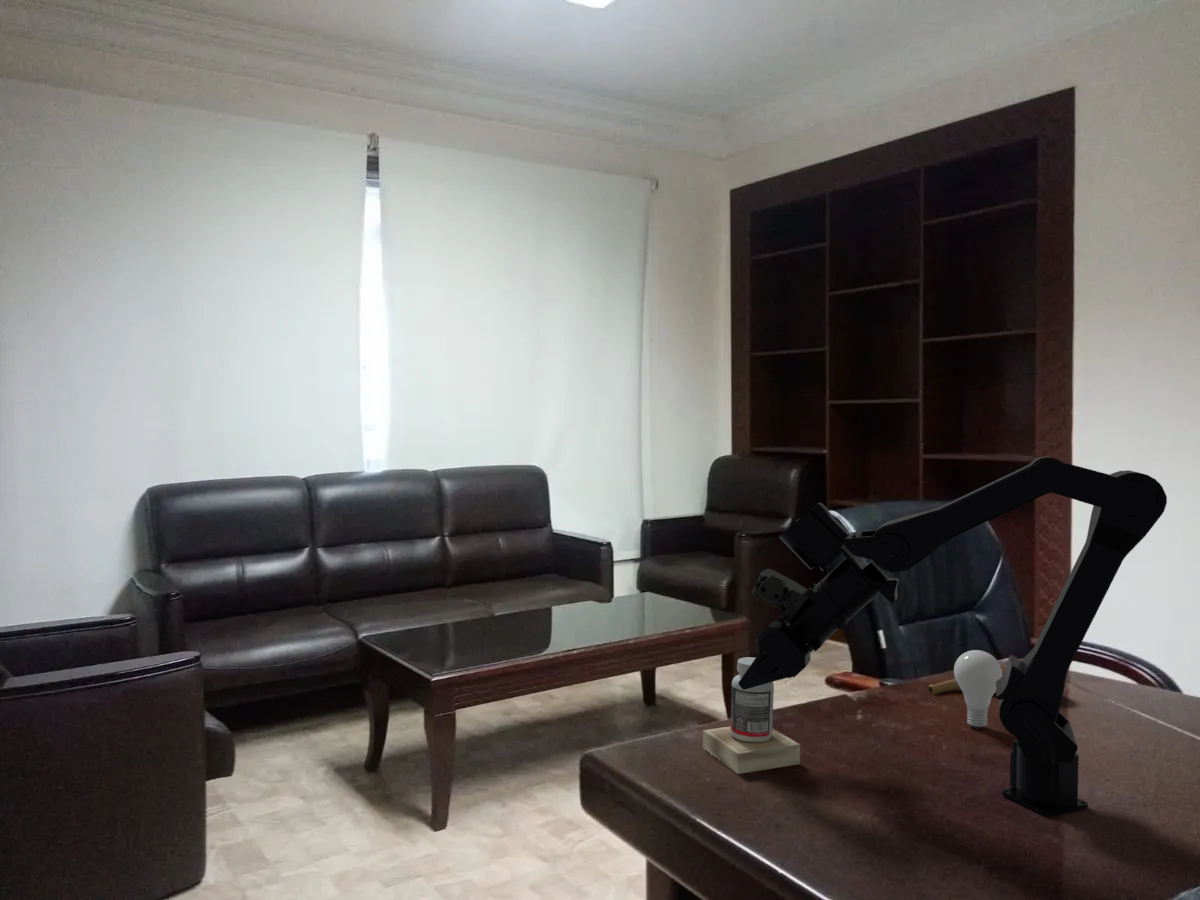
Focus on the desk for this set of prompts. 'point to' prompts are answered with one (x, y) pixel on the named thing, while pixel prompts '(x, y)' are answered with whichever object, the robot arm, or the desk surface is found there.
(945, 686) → the pipe
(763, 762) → the plinth
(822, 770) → the desk surface
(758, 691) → the pill bottle
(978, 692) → the lightbulb
